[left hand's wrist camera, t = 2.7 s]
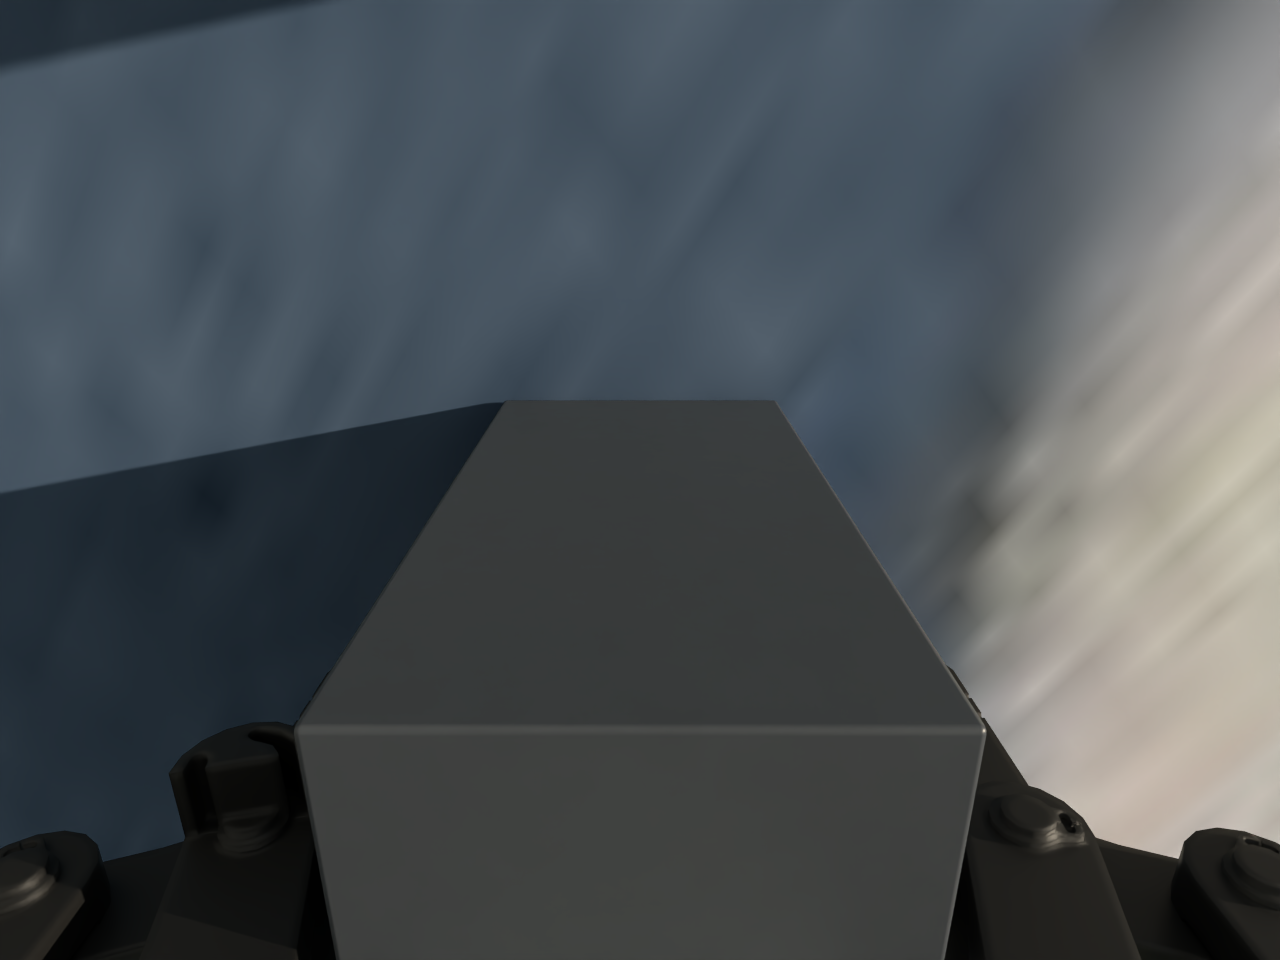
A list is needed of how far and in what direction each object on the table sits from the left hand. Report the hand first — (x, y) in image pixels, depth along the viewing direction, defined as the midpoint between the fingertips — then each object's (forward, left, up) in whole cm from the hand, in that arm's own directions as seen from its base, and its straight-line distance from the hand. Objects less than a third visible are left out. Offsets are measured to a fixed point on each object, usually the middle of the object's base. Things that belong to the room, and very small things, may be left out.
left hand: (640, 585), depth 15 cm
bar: (+7, +4, -1) cm, 8 cm away
